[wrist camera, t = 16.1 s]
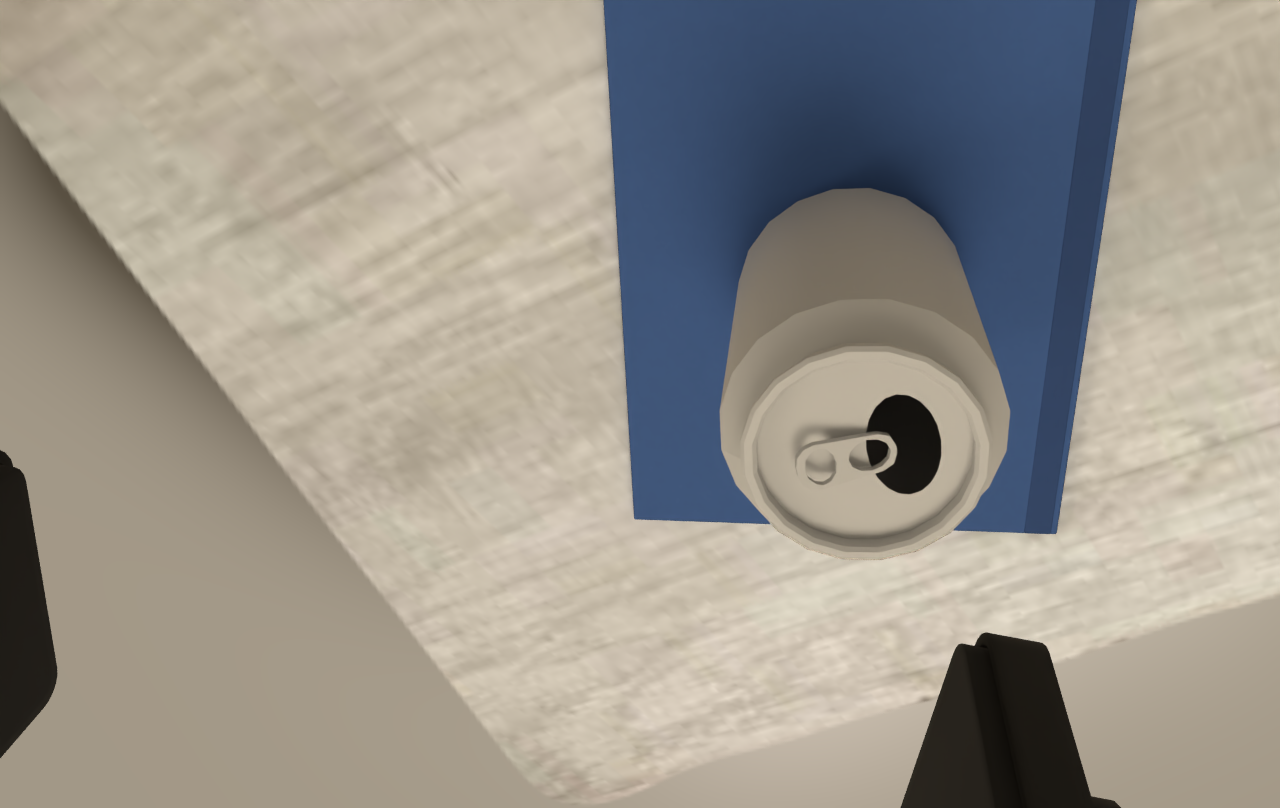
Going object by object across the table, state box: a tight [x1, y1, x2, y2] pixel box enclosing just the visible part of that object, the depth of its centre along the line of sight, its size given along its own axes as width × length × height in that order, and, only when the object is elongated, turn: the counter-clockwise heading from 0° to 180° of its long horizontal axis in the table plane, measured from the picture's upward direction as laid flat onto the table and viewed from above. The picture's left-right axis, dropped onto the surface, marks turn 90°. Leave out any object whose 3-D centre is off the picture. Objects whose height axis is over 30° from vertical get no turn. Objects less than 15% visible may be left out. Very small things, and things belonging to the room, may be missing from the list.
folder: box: [604, 0, 1137, 534], centre depth 38 cm, size 20×16×1 cm
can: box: [720, 188, 1010, 560], centre depth 33 cm, size 8×8×12 cm
